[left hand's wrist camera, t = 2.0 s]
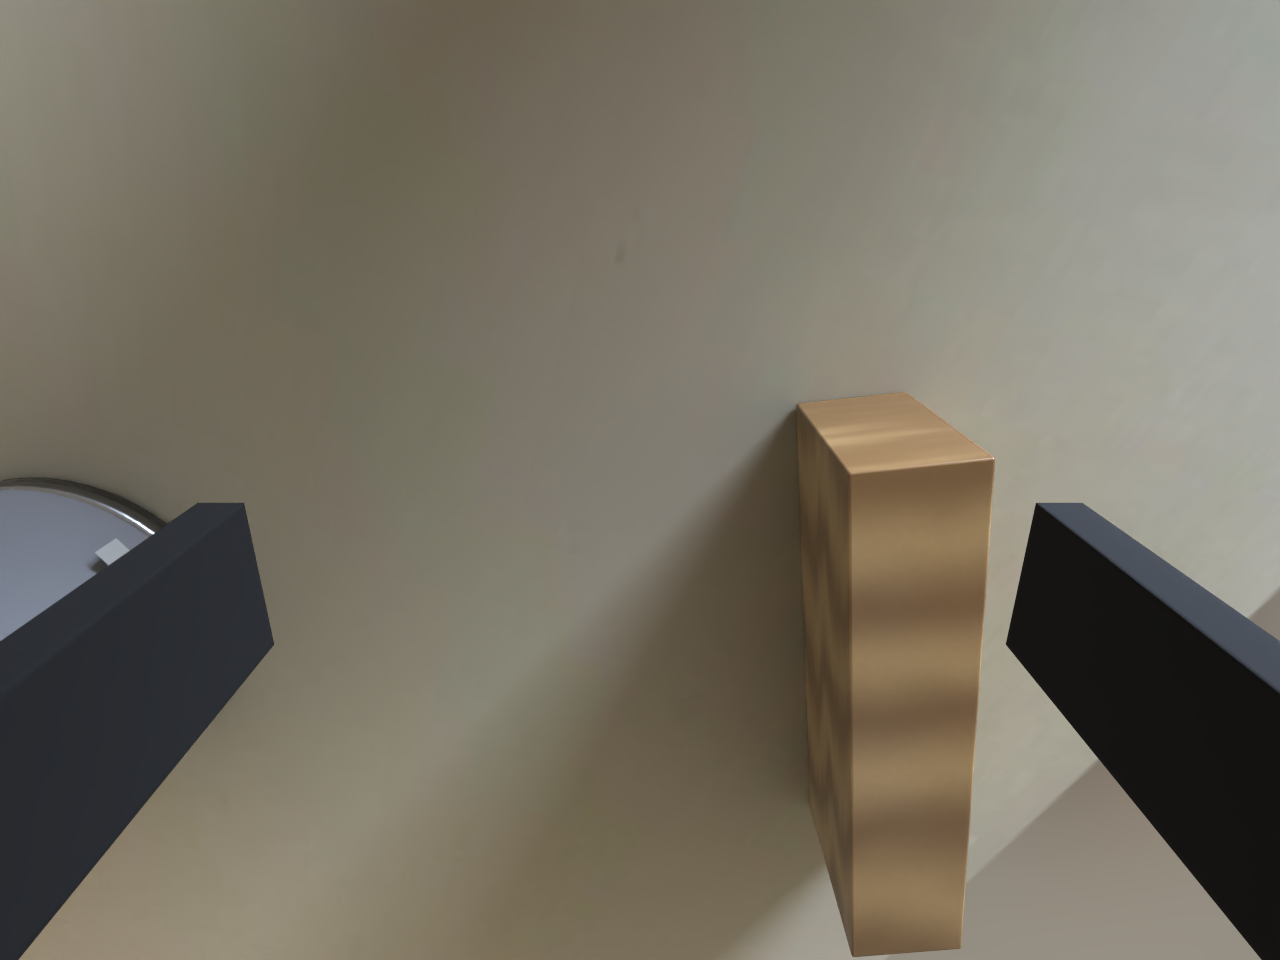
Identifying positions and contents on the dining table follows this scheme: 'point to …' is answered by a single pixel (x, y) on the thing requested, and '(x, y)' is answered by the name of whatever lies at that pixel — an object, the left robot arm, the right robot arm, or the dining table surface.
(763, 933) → the dining table surface
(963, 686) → the bar
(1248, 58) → the dining table surface
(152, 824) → the dining table surface
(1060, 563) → the left robot arm
